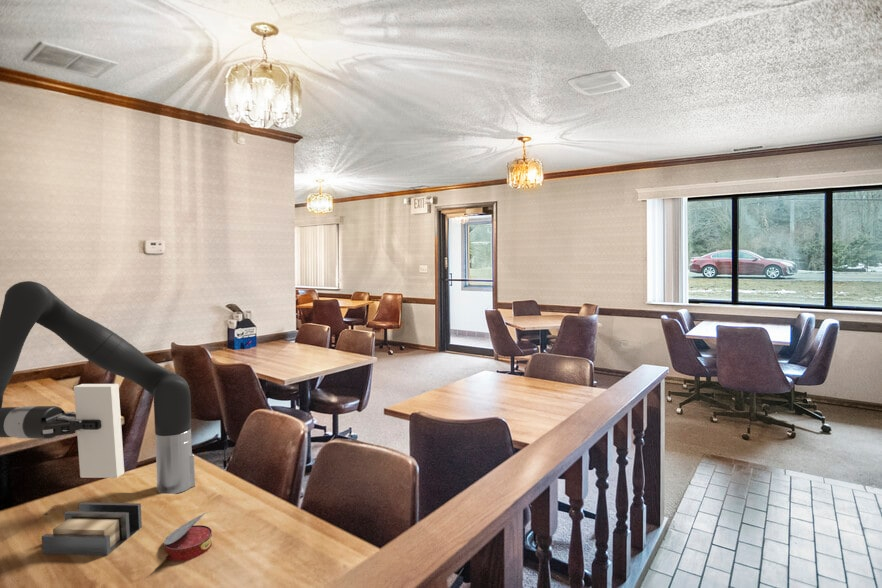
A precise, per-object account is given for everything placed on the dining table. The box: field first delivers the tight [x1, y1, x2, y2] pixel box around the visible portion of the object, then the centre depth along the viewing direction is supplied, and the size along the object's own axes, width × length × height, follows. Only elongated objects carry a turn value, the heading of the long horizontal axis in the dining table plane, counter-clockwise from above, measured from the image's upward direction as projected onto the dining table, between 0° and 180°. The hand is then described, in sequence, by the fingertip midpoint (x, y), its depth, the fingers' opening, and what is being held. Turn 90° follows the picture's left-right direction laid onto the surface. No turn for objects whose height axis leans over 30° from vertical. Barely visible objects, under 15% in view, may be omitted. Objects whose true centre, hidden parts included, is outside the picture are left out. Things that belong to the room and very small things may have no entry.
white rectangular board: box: [73, 383, 125, 479], centre depth 116 cm, size 9×2×22 cm, turn 87°
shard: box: [41, 503, 65, 518], centre depth 127 cm, size 11×8×2 cm
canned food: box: [163, 512, 213, 562], centre depth 113 cm, size 11×10×10 cm
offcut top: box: [52, 518, 119, 536], centre depth 112 cm, size 12×5×2 cm, turn 87°
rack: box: [41, 501, 143, 557], centre depth 114 cm, size 15×12×8 cm
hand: (104, 422), depth 115 cm, fingers closed on white rectangular board, 2 cm apart
